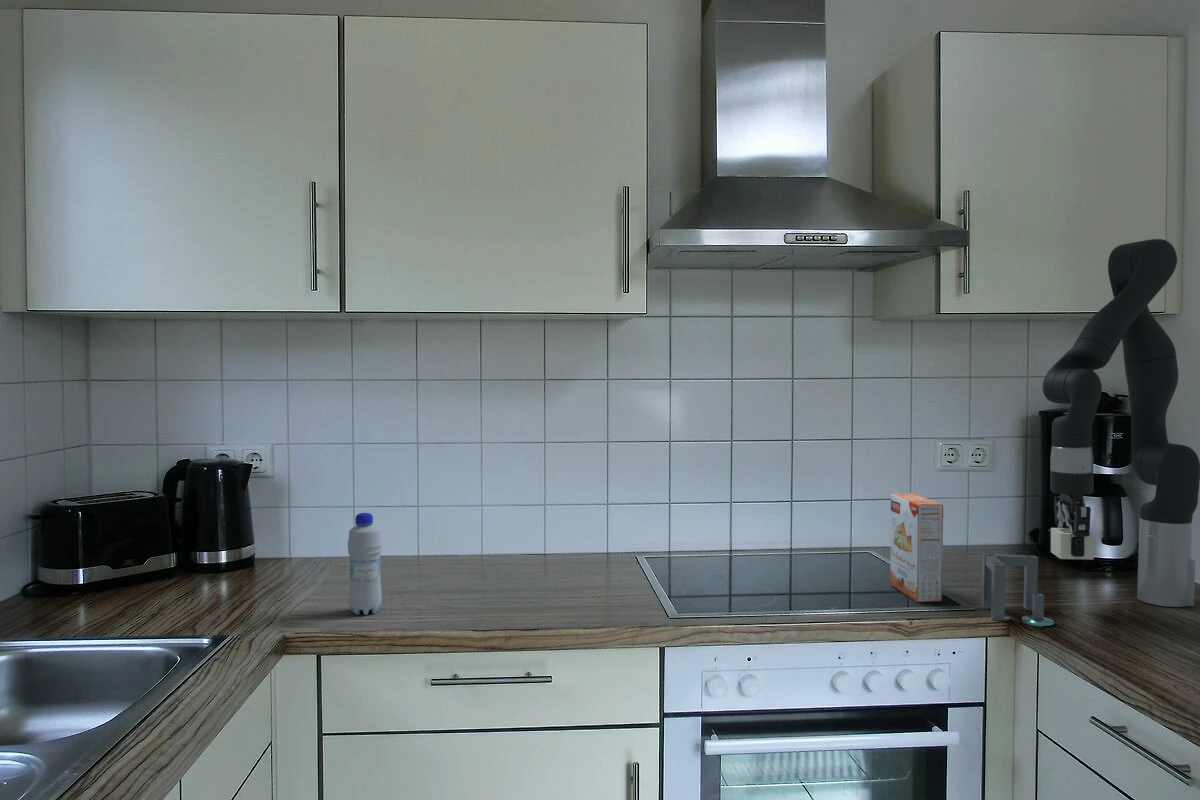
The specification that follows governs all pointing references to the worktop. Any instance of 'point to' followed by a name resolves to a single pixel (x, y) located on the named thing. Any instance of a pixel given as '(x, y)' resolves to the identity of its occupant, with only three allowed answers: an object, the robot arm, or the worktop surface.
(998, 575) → the rail
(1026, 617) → the peg
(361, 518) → the bottle
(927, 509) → the cracker box
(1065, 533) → the white square tube
